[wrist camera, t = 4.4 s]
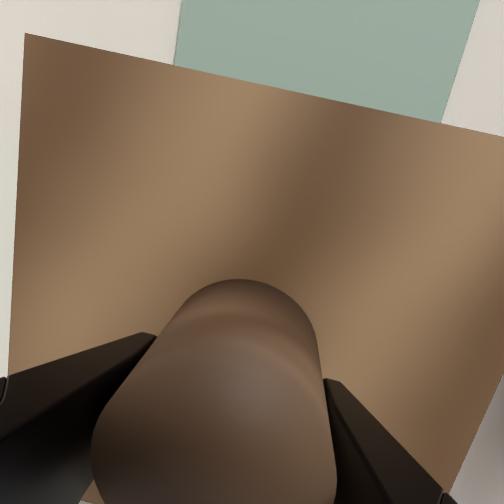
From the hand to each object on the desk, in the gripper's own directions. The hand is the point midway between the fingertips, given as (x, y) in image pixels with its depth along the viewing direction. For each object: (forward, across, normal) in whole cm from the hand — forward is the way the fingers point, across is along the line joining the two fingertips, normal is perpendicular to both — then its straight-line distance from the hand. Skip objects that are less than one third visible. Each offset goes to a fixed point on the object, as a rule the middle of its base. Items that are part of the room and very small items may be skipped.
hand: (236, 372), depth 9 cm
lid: (+2, 0, 0) cm, 2 cm away
